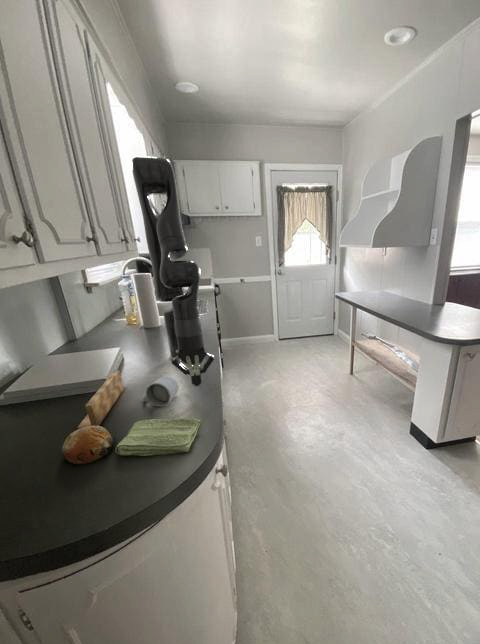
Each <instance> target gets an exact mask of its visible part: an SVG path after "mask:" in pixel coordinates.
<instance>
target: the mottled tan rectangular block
mask: <svg viewBox="0 0 480 644" xmlns="http://www.w3.org/2000/svg"><path fill="white" fill-rule="evenodd" d="M123 391H124V384H123V380H122V377H121V373H120V370H118V369H117V370H113V372H112V373H111V374H110V375H109V377H107V378H106V380H105V381H104V383H103V384H102V385H101V386H100V387H99V388H98V389H97V391H96V392H95V394H93V395H92V397H91V398H90V400H88V401H87V403H86V404H85V405H84V406H85V411H86V413H87V414H86V415H85V417H84V418H83V420H82V421H81V422H80V423H79V425H78V426H77V430H78V429H80V428H83V427H87V426H100V425H101V424H102V422H103V421H104V419H105V418H106V416H107V415H108V413H109V412H110V411H111V409H112V408H113V406H114V405H115V403H116V401H117V400H118V399H119V397H120V395H121V394H122V393H123Z"/></svg>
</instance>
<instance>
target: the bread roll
mask: <svg viewBox="0 0 480 644" xmlns="http://www.w3.org/2000/svg"><path fill="white" fill-rule="evenodd" d="M113 441H114V439H113V437H112V434H111V433H110V431H109V430H108V429H106V428H105V427H103V426H100V425H99V426H87V427H83V428H80V429H78V428H77V429H76V430H74V431H73V432H71V433H70V434H68V436H67V437H66V439H65V440H64V442H63V444H62V448H61V452H62V454H63V456H64V458H65V459H66V460H67V461H68V462H69V463H72V464H75V465H85V464H89V463H92V462H95V461H97V460H99V459H102V458H103V457H104V456H106V455H108V453H109V452H110V451H111V449H112V446H113Z"/></svg>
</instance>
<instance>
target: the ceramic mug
mask: <svg viewBox="0 0 480 644" xmlns="http://www.w3.org/2000/svg"><path fill="white" fill-rule="evenodd" d="M179 390H180V384H179V381H178V380H177V379H176V378H175V377H173V376H172V375H163V376H160V377H158V378H157V379H156V380H154V381H153V382H152V383H150V384H149V385H148V386H147V387H146V390H145V394H144V396H142V400H143V401H144V402H145V403H147V402H149V403H150V404H152V405H153V406H155V407H164V406H167V405H168V404H169V403H170V402H171V401H172V400H173V398H174V397H175V396H176V395H177V394H178V392H179Z"/></svg>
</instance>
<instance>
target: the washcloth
mask: <svg viewBox="0 0 480 644" xmlns="http://www.w3.org/2000/svg"><path fill="white" fill-rule="evenodd" d="M201 423H202V421H201V420H200V419H198V418H190V417H188V418H187V417H182V418H181V417H179V418H167V419H156V418H153V419H141V420H138V421H136V422H134V423H133V425H132V427H131V428H130V429H129V430H128V433H127V435H126V436H125V437H123V438H122V439H121V440H120V441H119V442H118V443H117V445H116V448H115V453H116V454H117V455H119V456H140V457H146V456H147V457H148V456H157V455H158V456H160V455H170V454H178V453H180V454H181V453H188V452H190V451H189V450H190V448H191V446H192V444H193V441H195V438H196V436H197V434H198V430H199V428H200V425H201Z"/></svg>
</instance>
